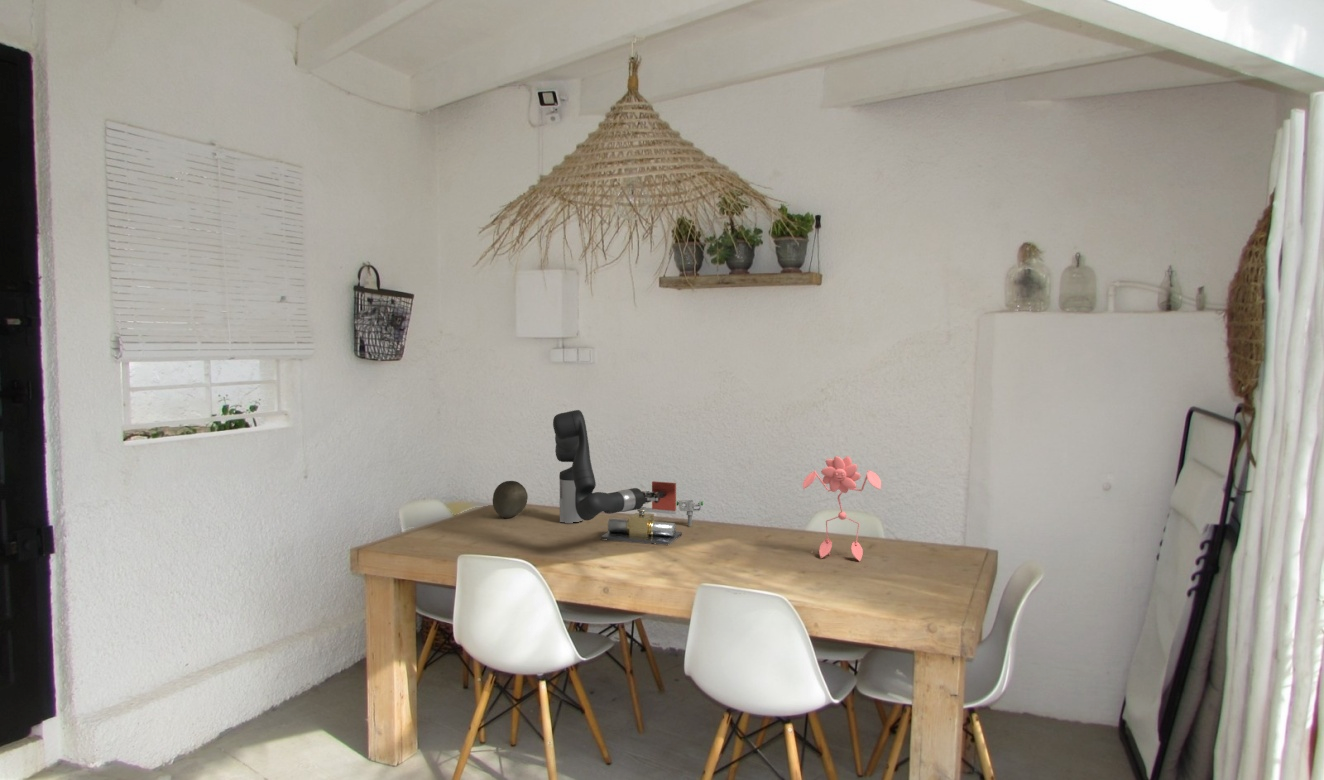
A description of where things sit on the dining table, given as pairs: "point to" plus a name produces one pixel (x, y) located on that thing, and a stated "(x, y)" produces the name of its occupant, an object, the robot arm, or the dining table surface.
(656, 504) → the valve lever
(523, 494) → the kiwi fruit
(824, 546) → the flower figure
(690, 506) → the mechanical component
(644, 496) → the robot arm
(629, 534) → the valve stand
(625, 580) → the dining table surface
